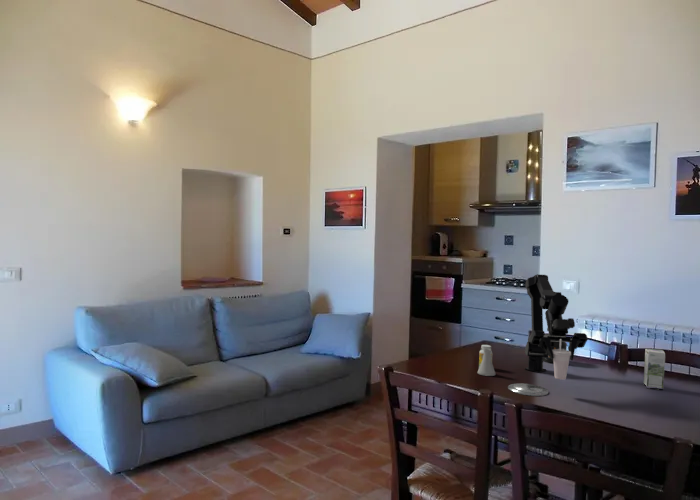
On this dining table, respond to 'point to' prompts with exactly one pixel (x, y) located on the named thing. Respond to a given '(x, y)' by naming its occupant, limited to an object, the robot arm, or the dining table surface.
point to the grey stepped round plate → (528, 389)
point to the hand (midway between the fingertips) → (562, 359)
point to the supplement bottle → (483, 353)
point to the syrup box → (654, 368)
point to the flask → (486, 364)
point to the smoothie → (561, 362)
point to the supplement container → (555, 346)
